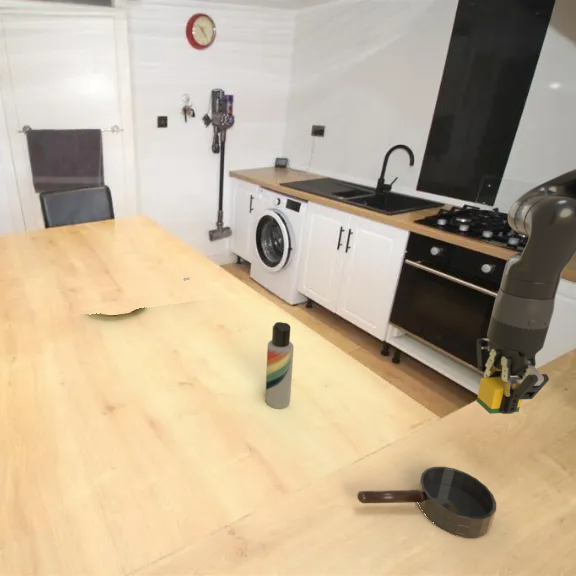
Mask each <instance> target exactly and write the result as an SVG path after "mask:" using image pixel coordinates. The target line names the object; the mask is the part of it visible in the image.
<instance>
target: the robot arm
mask: <svg viewBox="0 0 576 576" xmlns="http://www.w3.org/2000/svg"><path fill="white" fill-rule="evenodd" d="M507 222H508V225H509V227H510V229H512V231H514V232H515V233H518V234H519V235H522V236H523V237H526V238H528V239H527V242H526V244H525V247H524V248H523V251H522V252H518V253H514V254H513V255H510V256H509V258H508V259H507V261H506V263H505V265H504V270H503V273H502V276H501V280H500V281H501V282H500V286H499V289H498V292H497V295H496V296H495V299H494V303H493V308H492V311H491V316H490V320H489V325H488V329H487V332H486V333H487V334H486V337H484V338H477V339H476V359H477V360H476V361H477V370H478V371H479V372H482V373H483V378H490V377H502V381H503V382H504V394H503V397H502V400H501V404H500V408H499V411H500V412H501V413H500V414H502V415H511V414H514V413H516V412H515V411H516V409H517V405H518V402H519V400H521V401H522V400H523V401H524V400H533V399H534V397H535V396H536V395H537V394H538V393H539V392H541V390H542V388H543V387H545V386H546V384H547V383H548V382H549V380H550V377H549V375H548V374H547V373H540V371H539V370H538V369H537V368H536V365H537V363H536V362H537V361H536V355H537V354H538V353H539V352H540V351H541V350H542V349H544V345H545V342H546V339H547V335H548V331H549V328H550V325H551V321H552V317H553V315H554V310H555V304H556V303H555V302H556V296H557V292H558V290H559V286H560V282H561V279H562V275H563V272H564V270H565V269H566V267H567V266H568V265H569V263H570V262H571V261H572V259H573V257H574V256H575V254H576V168H575V169H572V170H569V171H567V172H565V173H562V174H560V175H558V176H556V177H554V178H552V179H549V180H547V181H545V182H542V183H541V184H538V185H537V186H535V187H533V188H531V189H529V190H527V191H526V192H524V193H523V194H522V195H521V196H519V197H518V198H517V199H516V200H515V201H514V202H513V203H512V205H511V207H510V208H509V210H508V213H507ZM485 359H487V360H486V363H485ZM513 384H516V389H512V386H513Z"/></svg>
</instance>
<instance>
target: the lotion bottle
mask: <svg viewBox="0 0 576 576" xmlns="http://www.w3.org/2000/svg"><path fill="white" fill-rule="evenodd" d="M271 332H272V334H271V340H270V341H269V342H268V343H267V348H266V349H267V350H266V371H265V372H266V373H265V397H264V399H265V403H266V404H267V405H268V407H271V408H273V409H277V410H278V409H280V410H281V409H285V408H287V407H289V405H290V403H291V395H292V381H293V380H292V379H293V362H294V349H295V348H294V344H293V342H291V325H290V324H289V323H287V322H282V321H277V322H275V323H274V324H273V325H272V331H271Z"/></svg>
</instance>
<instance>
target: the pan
mask: <svg viewBox="0 0 576 576" xmlns="http://www.w3.org/2000/svg"><path fill="white" fill-rule="evenodd" d="M417 490H420V491H422V492H423V493H424V495H425V500H424V501H423V502H418V503H419V505H420V507H421V509H422V510H423V512H424V513H425V514H426V516H427V517H428V518H429V519H430V520H431V521H432V522H434V524H433V525H435V524H436V525H437V526H436V525H435V526H436V527H438V528H439V527H440V528H439V529H441V530H442V529H443V530H442V531H444V530H445V531H444V532H446V531H447V532H446V533H448V532H449V534H451V535H453V534H454V536H456V535H457V537H461V538H465V539H466V538H467V539H477V538H482V537H483V536H485V535H487V534H488V533H489V531H490V529H491V527H492V525H493V522H494V518H495V515H496V512H497V501H496V499H495V496H494V494H493V492H491V490H490V489H489V488H488V487H487V486H486V485H485V484H484V483H482V482H481V481H480V480H479V479H477V478H476V477H474V476H472V475H471V474H469V473H467V472H464V471H462V470H460V469H457V468H453V467H449V466H432V467H428V468H426V469H425V470H424V471H423V472H422V473H421V475H420V479H419V484H418V488H417ZM418 503H417V504H418ZM419 505H418V506H419ZM421 509H420V510H421ZM423 512H422V513H423ZM426 516H425V517H426ZM427 517H426V518H427ZM428 518H427V519H428ZM429 519H428V520H429ZM430 520H429V521H430ZM431 521H430V522H431ZM432 522H431V523H432Z"/></svg>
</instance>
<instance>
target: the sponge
mask: <svg viewBox="0 0 576 576" xmlns="http://www.w3.org/2000/svg"><path fill="white" fill-rule="evenodd" d="M512 389H516V384H513V386H512ZM503 394H504V382H503V381H502V377H490V378H484V377H481V378H480V383H479V387H478V392H477V397H476V403H478V404H479V405H480V406H481V407H482V408H483V409H484V410H485V411H486V412H487V413H489V414H490V415H491V414H502V413H501V412H500V411H499V408H500V404H501V400H502V397H503ZM521 405H522V400H519V402H518V405H517V409H516V411H515V412H514V413H519V412H520V408H521Z"/></svg>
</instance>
